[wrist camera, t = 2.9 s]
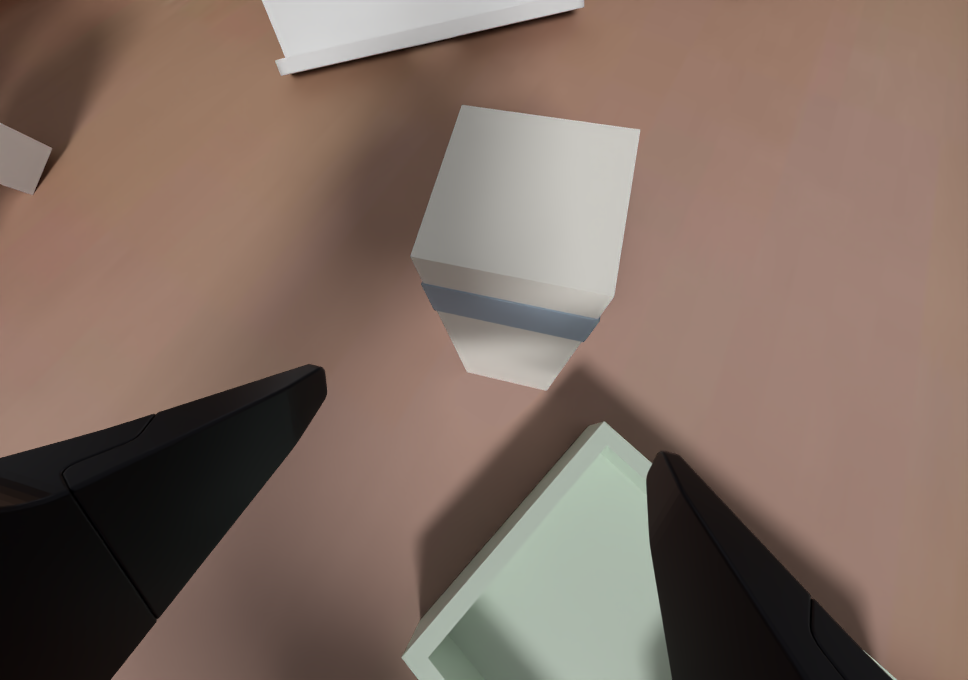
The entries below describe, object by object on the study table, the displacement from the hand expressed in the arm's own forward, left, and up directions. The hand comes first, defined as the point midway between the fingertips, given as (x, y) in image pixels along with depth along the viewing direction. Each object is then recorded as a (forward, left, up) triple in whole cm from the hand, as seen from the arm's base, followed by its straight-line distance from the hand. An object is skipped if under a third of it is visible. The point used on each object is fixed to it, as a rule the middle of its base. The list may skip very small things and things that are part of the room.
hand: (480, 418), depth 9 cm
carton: (+4, +5, -12) cm, 14 cm away
